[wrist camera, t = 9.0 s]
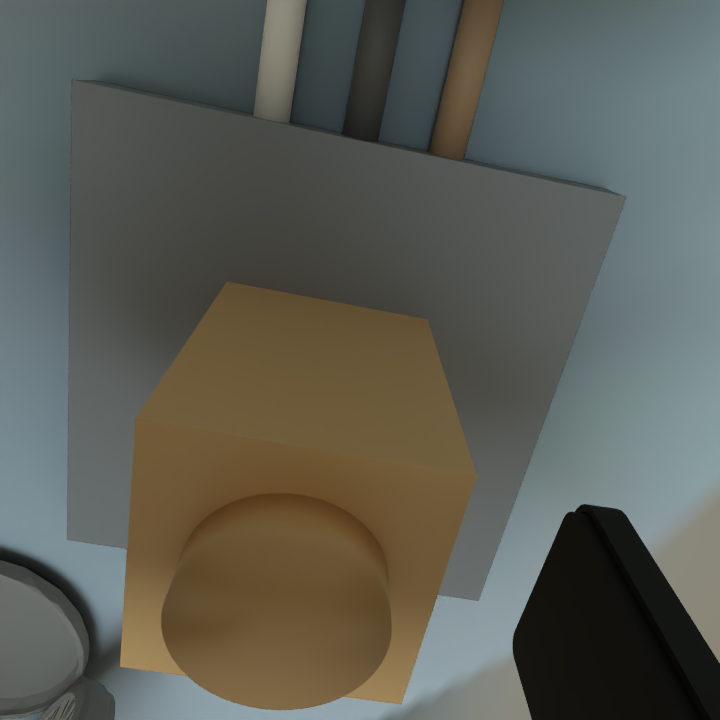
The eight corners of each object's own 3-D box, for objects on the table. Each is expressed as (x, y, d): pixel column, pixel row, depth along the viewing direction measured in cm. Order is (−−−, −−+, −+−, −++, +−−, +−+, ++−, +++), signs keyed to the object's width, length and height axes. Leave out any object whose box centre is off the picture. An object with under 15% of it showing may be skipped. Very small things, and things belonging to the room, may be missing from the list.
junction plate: (99, -133, 12) (-95, -304, 7) (670, 5, 13) (879, -51, 8) (84, 512, 18) (-24, 681, 13) (471, 571, 19) (514, 749, 14)
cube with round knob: (226, 281, 14) (108, 458, 7) (427, 319, 15) (491, 521, 8) (206, 454, 16) (96, 723, 9) (384, 483, 17) (405, 762, 10)
